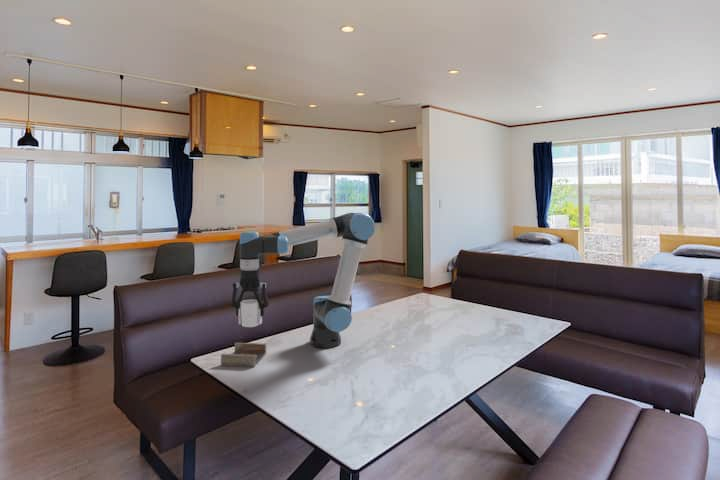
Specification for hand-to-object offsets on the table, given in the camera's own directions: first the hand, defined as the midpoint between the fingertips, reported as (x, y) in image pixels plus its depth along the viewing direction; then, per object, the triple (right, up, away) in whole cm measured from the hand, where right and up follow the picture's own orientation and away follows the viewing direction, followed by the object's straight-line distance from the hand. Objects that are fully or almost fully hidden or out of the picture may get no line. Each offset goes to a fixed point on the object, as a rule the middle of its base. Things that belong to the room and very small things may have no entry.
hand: (250, 323), depth 169 cm
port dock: (-4, -17, +6) cm, 18 cm away
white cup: (0, -1, 0) cm, 1 cm away
